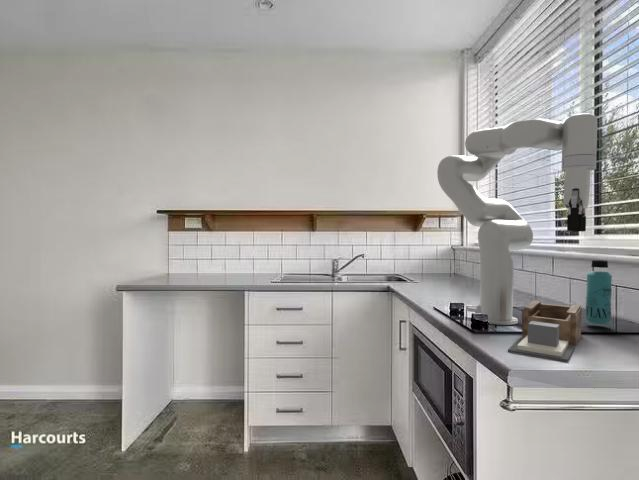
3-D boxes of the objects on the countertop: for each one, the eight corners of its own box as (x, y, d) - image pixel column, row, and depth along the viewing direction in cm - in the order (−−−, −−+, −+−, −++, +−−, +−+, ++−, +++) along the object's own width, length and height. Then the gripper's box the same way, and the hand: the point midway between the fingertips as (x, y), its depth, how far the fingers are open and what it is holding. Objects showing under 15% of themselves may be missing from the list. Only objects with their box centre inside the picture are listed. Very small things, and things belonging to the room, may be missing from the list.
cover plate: (517, 349, 97) (517, 325, 97) (527, 338, 106) (527, 317, 106) (561, 356, 91) (562, 331, 91) (568, 345, 101) (568, 322, 101)
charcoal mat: (507, 352, 96) (507, 349, 96) (520, 339, 108) (520, 337, 108) (567, 362, 89) (567, 359, 89) (574, 348, 100) (574, 345, 100)
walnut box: (522, 338, 109) (522, 307, 109) (532, 328, 120) (532, 300, 120) (575, 346, 102) (576, 313, 102) (580, 335, 113) (581, 305, 113)
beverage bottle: (580, 326, 125) (582, 259, 125) (590, 323, 129) (592, 259, 128) (605, 330, 120) (607, 261, 119) (614, 327, 124) (616, 260, 123)
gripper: (565, 169, 116) (563, 231, 116) (557, 160, 102) (555, 230, 102) (598, 167, 111) (596, 231, 112) (593, 157, 97) (591, 231, 98)
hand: (576, 231), depth 107 cm, fingers open, 9 cm apart
